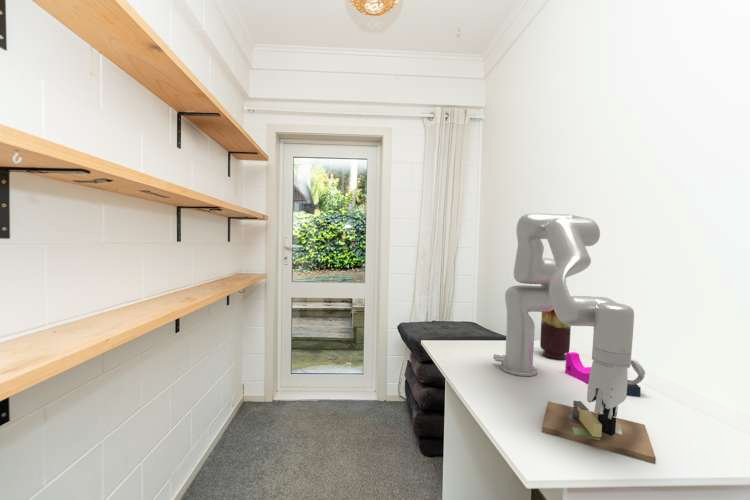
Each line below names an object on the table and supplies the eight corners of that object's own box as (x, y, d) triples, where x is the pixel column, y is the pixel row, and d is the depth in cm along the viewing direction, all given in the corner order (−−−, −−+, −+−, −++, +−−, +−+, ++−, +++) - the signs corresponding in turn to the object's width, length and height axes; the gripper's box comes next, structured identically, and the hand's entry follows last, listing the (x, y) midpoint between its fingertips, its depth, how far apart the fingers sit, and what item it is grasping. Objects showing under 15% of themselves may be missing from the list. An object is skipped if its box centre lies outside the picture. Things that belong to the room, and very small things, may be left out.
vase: (545, 349, 154) (548, 291, 153) (573, 355, 146) (576, 294, 145) (535, 354, 146) (538, 293, 146) (563, 361, 138) (566, 297, 137)
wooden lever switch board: (541, 434, 85) (542, 425, 85) (547, 407, 99) (548, 400, 99) (655, 467, 74) (655, 456, 74) (644, 432, 88) (644, 423, 87)
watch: (647, 398, 107) (649, 363, 107) (618, 394, 109) (619, 360, 109) (637, 390, 113) (639, 357, 113) (610, 387, 115) (611, 354, 114)
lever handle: (569, 413, 91) (569, 400, 91) (583, 415, 91) (584, 401, 91) (588, 438, 80) (589, 422, 80) (605, 440, 79) (606, 424, 79)
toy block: (615, 389, 114) (617, 366, 114) (600, 390, 113) (601, 367, 112) (579, 371, 129) (580, 351, 128) (565, 372, 127) (566, 352, 127)
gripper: (607, 346, 88) (602, 416, 89) (578, 356, 80) (573, 433, 81) (642, 355, 82) (637, 430, 83) (615, 367, 73) (609, 451, 74)
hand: (605, 432), depth 82 cm, fingers closed
